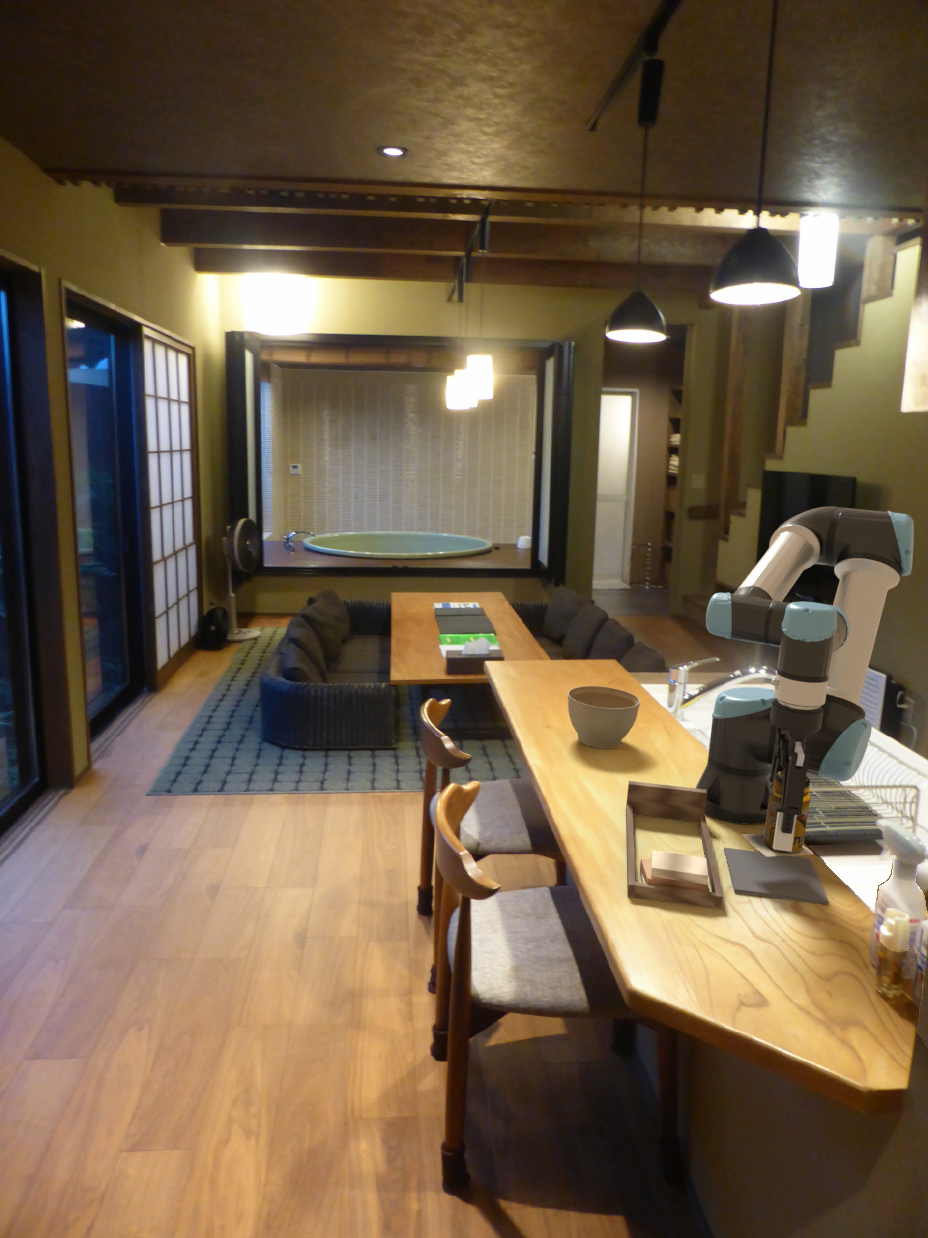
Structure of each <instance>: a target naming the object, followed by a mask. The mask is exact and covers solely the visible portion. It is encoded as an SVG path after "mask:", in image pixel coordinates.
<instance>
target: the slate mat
mask: <svg viewBox="0 0 928 1238" xmlns="http://www.w3.org/2000/svg"><path fill="white" fill-rule="evenodd" d="M723 852H724V857H725V856H726V857H725V860H726V859H727V861H726V865H727V864H728V865H727V869H728V868H729V869H728V872H729V876H730V881H731V884H732V888H733V889H732V890H733V892H734V893H735V894H744V895H752V896H759V897H767V898H772V899H773V898H774V899H780V900H781V899H783V900H790V901H798V902H804V903H814V904H820V905H826V906H827V905H828V906H829V905H830V904H829V903H830V900H829V898H828V896H827V892H826V891H825V889H824V887H823V885H822V882H821V880H820V878H819V876H818V874H817V871H816V869H815V867H814V864H813V862H812V860H811V857H805V856H799V855H795V856H788V855H787V856H785V855H784V856H770V857H766V856H765V855H764V854H762V853H761V852H760V851H757V850H748V849H740V848H732V847H726V846H725V847H724V848H723Z"/></svg>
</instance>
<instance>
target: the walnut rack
mask: <svg viewBox="0 0 928 1238" xmlns="http://www.w3.org/2000/svg"><path fill="white" fill-rule="evenodd" d="M626 795H627V796H626V804H625V833H626V834H625V836H626V837H625V839H626V847H625V848H626V882H627V883H626V885H627V887H626V889H627V892H626V893H627V897H630V898H639V899H645V900H654V901H660V902H661V901H662V902H669V903H677V904H684V905H692V906H700V907H704V908H706V907H707V908H713V909H723V902H724V893H723V890H722V885H721V880H720V876H719V872H718V866H717V863H716V858H715V854H714V849H713V844H712V839H711V836H710V832H709V827H708V822H707V818H706V813H705V806H706V798H707V790H705V789H696V787H686V786H685V787H684V786H676V785H667V784H659V783H650V782H643V781H634V780H628V784H627V794H626ZM634 816H640V817H647V818H654V819H655V818H656V819H664V820H672V821H680V822H688V823H695V824H696V823H697V826H698V830H699V836H700V841H701V840H702V841H701V845H702V851H703V855H705V856H704V858H706V861H707V869H708V881H709V885H710V890H711V891H710V892H708V891H701V890H693V889H685V888H678V887H670V886H663V885H655V884H647V883H641V881H640V882H638V881H636V868H635V867H636V866H635V865H636V864H635V839H634V837H635V836H634Z"/></svg>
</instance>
